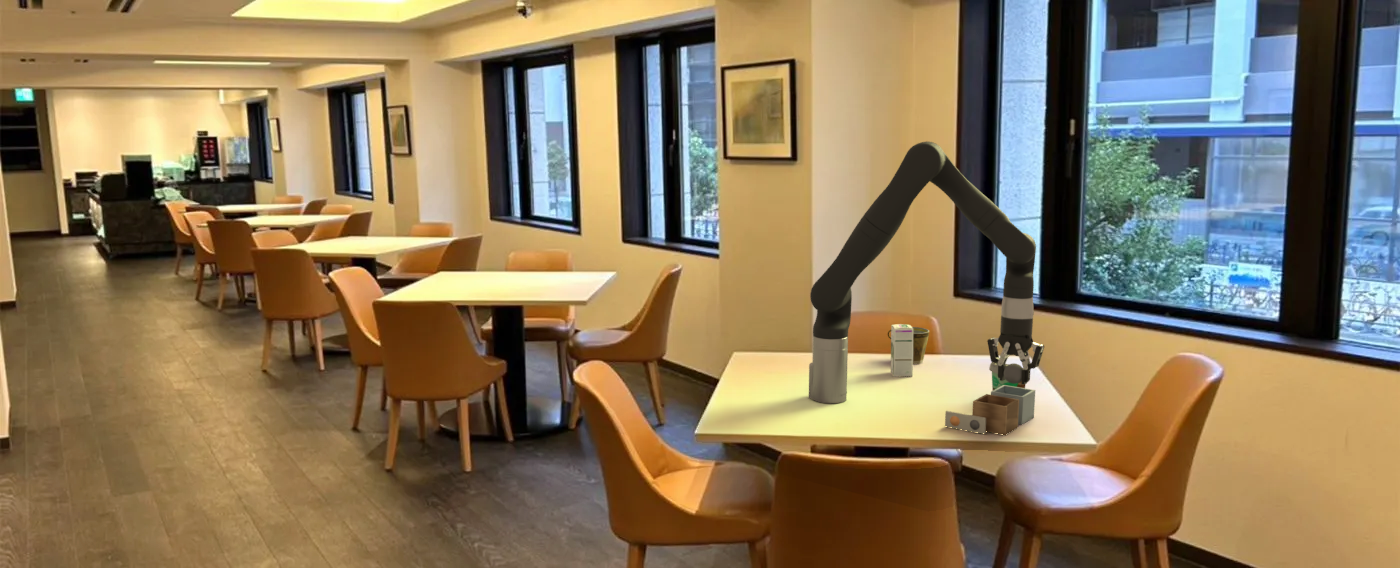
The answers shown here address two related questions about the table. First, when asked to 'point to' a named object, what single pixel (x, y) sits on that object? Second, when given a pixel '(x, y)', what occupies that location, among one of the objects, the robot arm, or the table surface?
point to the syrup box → (901, 350)
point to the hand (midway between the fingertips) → (1013, 381)
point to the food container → (997, 382)
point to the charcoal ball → (1013, 373)
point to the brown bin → (997, 413)
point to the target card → (965, 422)
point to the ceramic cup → (918, 343)
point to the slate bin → (1024, 397)
